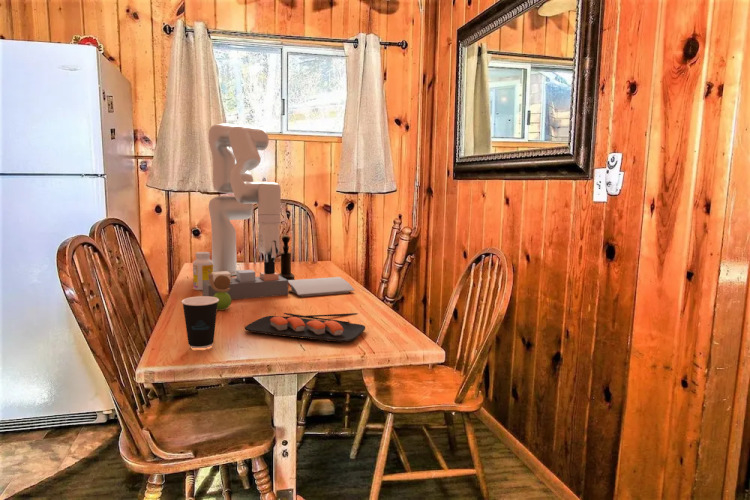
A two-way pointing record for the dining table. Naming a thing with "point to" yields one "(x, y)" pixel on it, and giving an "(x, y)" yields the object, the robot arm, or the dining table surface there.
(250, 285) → the key panel
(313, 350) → the dining table surface
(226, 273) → the cream key
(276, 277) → the terracotta key
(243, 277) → the slate key
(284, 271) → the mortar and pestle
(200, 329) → the dixie cup
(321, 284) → the book
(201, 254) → the supplement bottle
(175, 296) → the dining table surface
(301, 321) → the sushi plate
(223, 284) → the snail figurine
